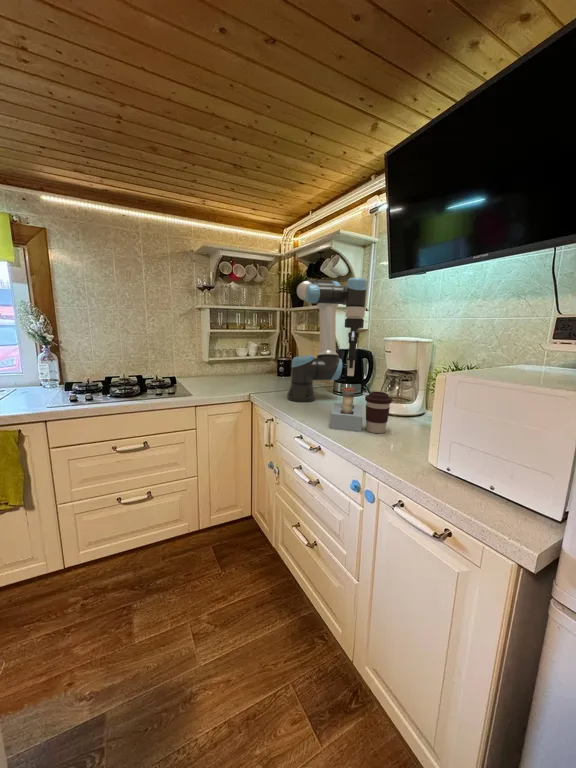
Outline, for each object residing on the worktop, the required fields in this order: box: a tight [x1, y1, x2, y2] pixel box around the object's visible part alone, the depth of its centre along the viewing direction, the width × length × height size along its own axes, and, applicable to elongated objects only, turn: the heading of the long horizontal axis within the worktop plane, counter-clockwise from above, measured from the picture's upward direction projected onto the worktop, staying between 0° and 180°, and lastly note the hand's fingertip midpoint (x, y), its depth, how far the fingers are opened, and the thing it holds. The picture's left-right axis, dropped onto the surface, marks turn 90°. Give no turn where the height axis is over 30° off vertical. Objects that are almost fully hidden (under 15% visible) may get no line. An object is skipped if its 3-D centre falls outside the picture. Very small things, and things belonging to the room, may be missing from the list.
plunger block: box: [329, 402, 363, 433], centre depth 132 cm, size 18×12×6 cm, turn 167°
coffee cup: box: [364, 391, 393, 434], centre depth 124 cm, size 10×10×15 cm
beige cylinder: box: [341, 391, 355, 414], centre depth 127 cm, size 5×5×9 cm
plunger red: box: [343, 387, 356, 409], centre depth 135 cm, size 5×5×9 cm
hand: (350, 375), depth 133 cm, fingers closed
